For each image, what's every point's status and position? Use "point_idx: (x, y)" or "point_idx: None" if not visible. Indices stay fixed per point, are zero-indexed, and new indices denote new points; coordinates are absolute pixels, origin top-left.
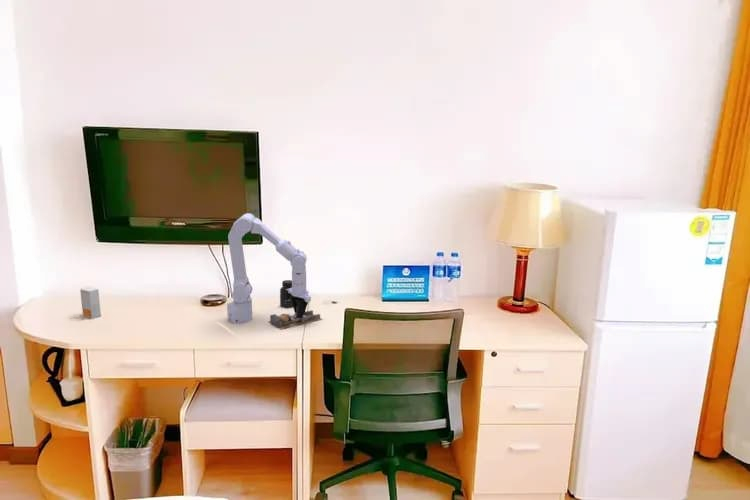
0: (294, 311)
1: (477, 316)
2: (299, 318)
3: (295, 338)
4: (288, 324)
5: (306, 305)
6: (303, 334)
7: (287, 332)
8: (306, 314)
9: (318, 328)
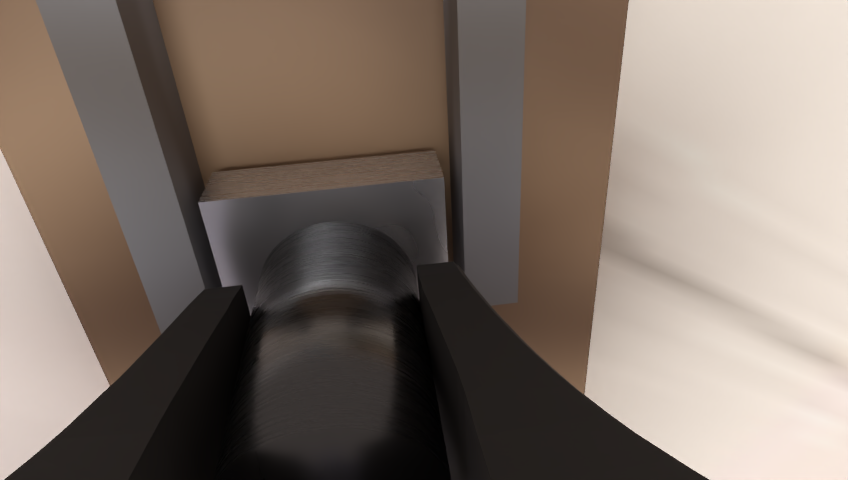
0: None
1: None
2: None
3: (817, 451)
4: None
5: (619, 439)
6: (808, 352)
7: None
8: (149, 26)
9: (828, 72)
